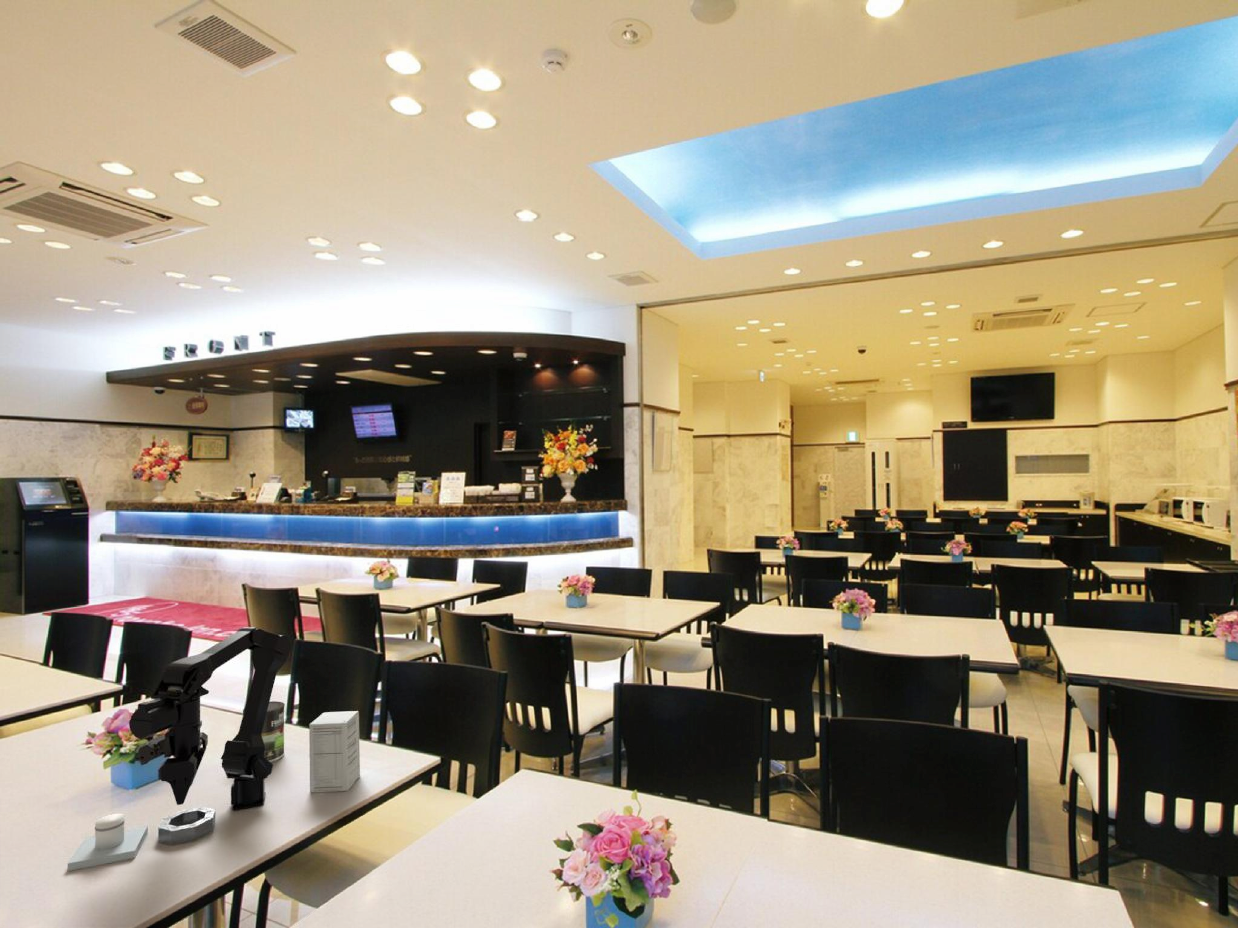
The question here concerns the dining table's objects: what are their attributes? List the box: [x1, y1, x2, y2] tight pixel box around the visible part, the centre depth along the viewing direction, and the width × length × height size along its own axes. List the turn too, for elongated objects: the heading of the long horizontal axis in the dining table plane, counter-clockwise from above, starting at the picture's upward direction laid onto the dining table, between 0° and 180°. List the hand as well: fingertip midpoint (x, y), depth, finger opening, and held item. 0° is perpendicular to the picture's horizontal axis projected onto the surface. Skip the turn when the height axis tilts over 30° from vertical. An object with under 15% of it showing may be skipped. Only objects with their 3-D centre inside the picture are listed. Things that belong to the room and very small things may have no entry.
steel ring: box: [157, 806, 216, 846], centre depth 148 cm, size 10×10×3 cm
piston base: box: [67, 813, 149, 872], centre depth 140 cm, size 11×11×6 cm
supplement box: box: [308, 710, 361, 793], centre depth 171 cm, size 10×9×17 cm
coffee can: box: [242, 700, 286, 763], centre depth 188 cm, size 10×10×14 cm
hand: (184, 794), depth 144 cm, fingers open, 9 cm apart
